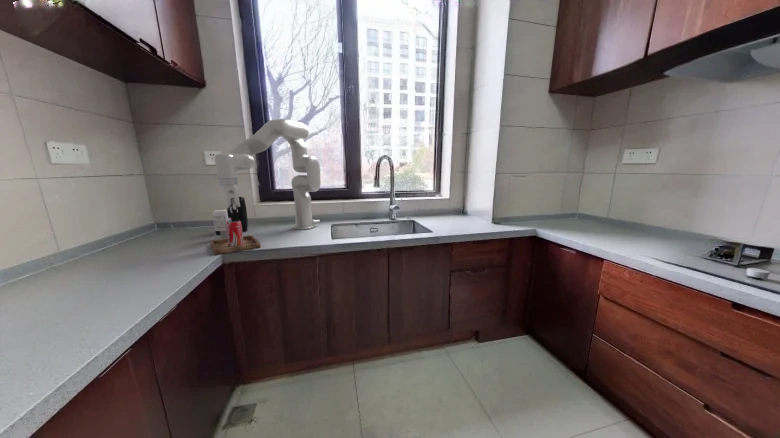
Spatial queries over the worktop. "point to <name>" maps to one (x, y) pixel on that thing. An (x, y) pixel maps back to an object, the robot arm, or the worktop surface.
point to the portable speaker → (243, 213)
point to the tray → (224, 248)
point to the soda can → (234, 233)
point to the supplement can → (220, 223)
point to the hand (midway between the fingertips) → (233, 219)
